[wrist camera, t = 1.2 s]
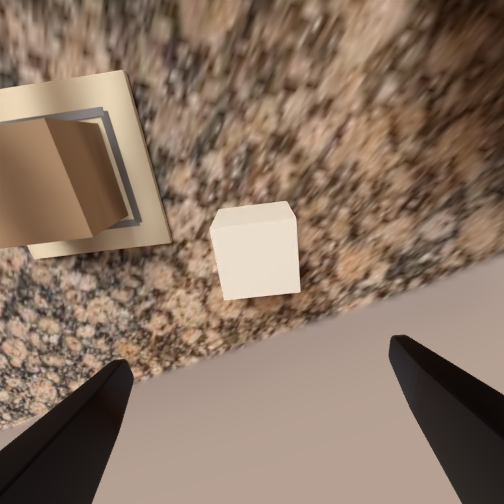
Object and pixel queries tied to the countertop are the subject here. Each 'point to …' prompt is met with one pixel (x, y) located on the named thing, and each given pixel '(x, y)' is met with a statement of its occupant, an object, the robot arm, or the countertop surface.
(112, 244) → the build plate
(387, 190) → the countertop surface
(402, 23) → the countertop surface
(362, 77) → the countertop surface
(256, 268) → the cream block
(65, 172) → the walnut block
